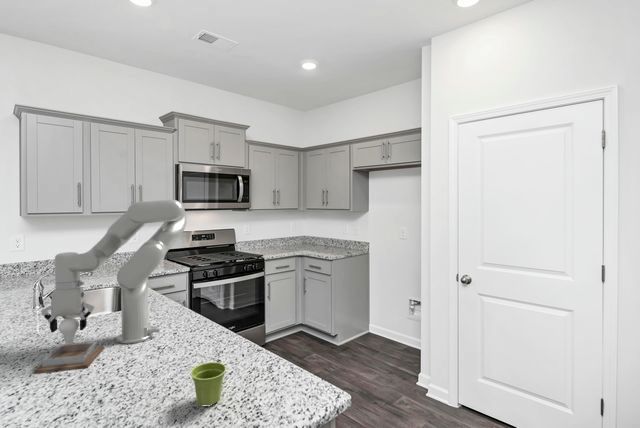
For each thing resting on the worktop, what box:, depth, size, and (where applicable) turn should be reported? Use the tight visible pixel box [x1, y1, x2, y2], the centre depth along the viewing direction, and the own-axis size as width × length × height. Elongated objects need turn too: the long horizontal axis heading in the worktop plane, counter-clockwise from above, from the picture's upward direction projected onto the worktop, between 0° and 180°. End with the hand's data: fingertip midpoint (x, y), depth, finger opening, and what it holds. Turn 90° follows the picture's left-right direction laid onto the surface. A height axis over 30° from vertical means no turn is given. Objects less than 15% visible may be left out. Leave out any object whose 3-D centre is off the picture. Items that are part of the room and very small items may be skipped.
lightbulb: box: [58, 317, 80, 345], centre depth 128 cm, size 6×6×11 cm
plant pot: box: [190, 361, 227, 406], centre depth 93 cm, size 9×9×9 cm
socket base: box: [33, 345, 105, 374], centre depth 117 cm, size 15×15×1 cm
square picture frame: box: [41, 341, 99, 368], centre depth 117 cm, size 12×12×2 cm
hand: (68, 330), depth 128 cm, fingers open, 9 cm apart
